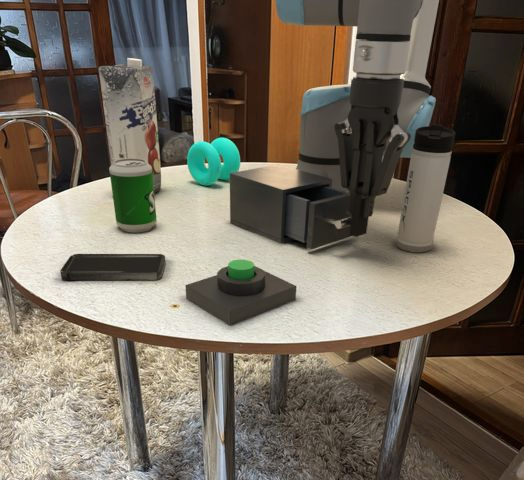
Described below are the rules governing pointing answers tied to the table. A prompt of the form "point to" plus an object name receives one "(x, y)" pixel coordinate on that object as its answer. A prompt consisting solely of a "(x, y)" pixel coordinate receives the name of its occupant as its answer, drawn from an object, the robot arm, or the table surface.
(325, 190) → the drawer
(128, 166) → the soda can
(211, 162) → the donuts
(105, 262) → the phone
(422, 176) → the travel mug
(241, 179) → the cabinet
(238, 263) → the button
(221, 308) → the panel
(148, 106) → the juice carton
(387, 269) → the table surface
